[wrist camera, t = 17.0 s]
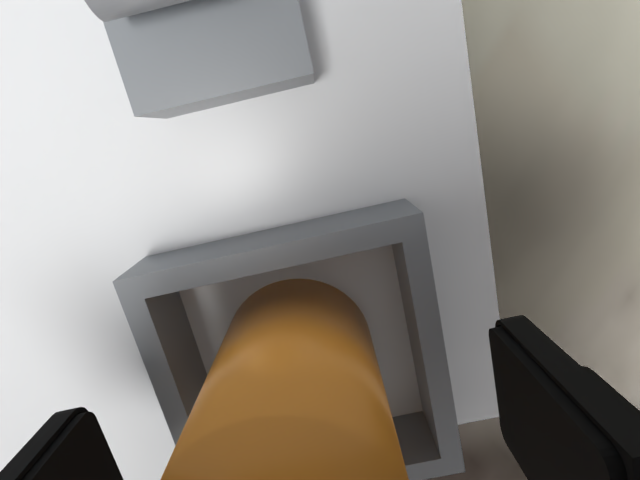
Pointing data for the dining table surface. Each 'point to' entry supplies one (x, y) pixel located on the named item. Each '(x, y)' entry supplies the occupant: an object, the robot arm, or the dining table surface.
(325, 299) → the cap
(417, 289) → the panel
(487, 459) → the dining table surface
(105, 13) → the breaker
